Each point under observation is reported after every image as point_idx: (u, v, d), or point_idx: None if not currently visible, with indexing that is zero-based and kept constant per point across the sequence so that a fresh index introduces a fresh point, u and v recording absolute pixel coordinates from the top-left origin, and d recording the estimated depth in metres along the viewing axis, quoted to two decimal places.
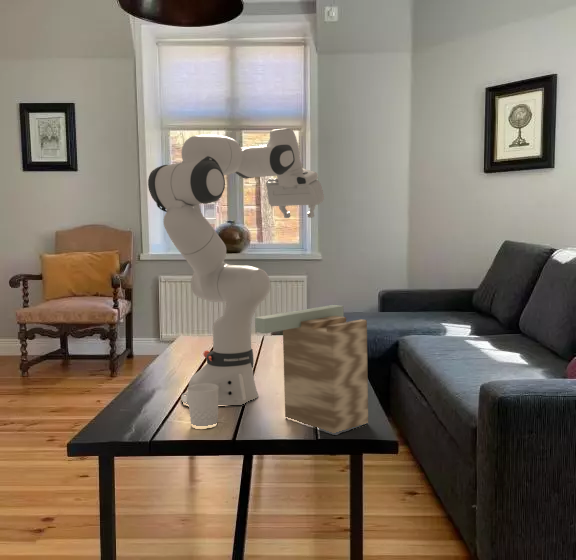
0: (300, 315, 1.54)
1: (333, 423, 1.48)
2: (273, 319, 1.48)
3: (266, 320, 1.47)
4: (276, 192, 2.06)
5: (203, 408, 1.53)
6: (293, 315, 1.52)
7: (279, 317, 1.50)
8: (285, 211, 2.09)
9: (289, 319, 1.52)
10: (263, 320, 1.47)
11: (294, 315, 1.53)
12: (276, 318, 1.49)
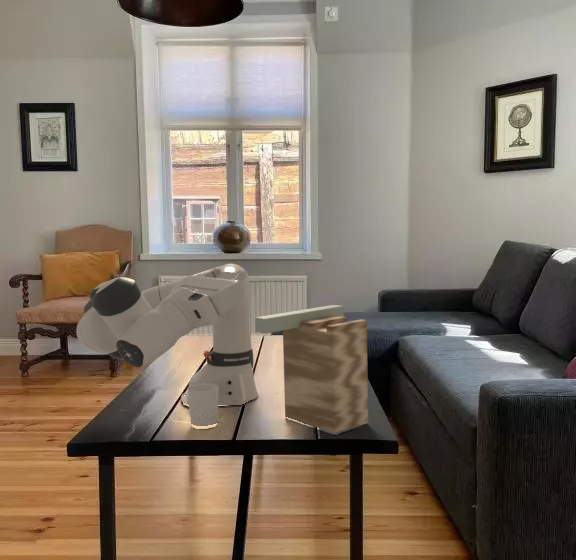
0: (300, 315, 1.54)
1: (333, 423, 1.48)
2: (273, 319, 1.48)
3: (266, 320, 1.47)
4: None
5: (203, 408, 1.53)
6: (293, 315, 1.52)
7: (279, 317, 1.50)
8: (211, 276, 1.41)
9: (289, 319, 1.52)
10: (263, 320, 1.47)
11: (294, 315, 1.53)
12: (276, 318, 1.49)
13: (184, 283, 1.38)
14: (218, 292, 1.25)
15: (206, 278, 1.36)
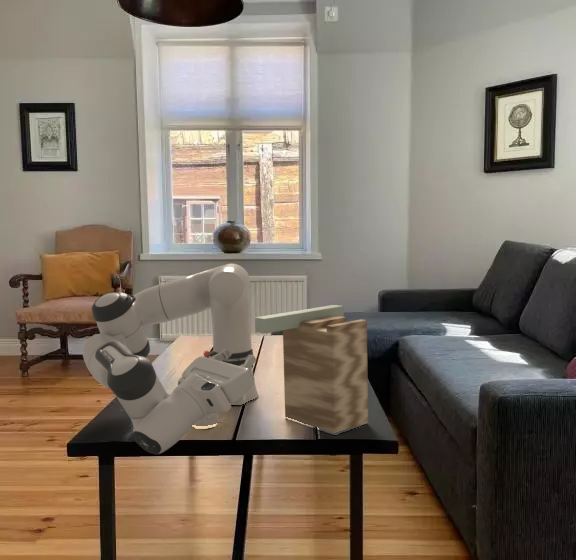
0: (300, 315, 1.54)
1: (333, 423, 1.48)
2: (273, 319, 1.48)
3: (266, 320, 1.47)
4: None
5: None
6: (293, 315, 1.52)
7: (279, 317, 1.50)
8: (221, 357, 1.47)
9: (289, 319, 1.52)
10: (263, 320, 1.47)
11: (294, 315, 1.53)
12: (276, 318, 1.49)
13: (196, 365, 1.45)
14: (229, 382, 1.31)
15: (217, 362, 1.42)
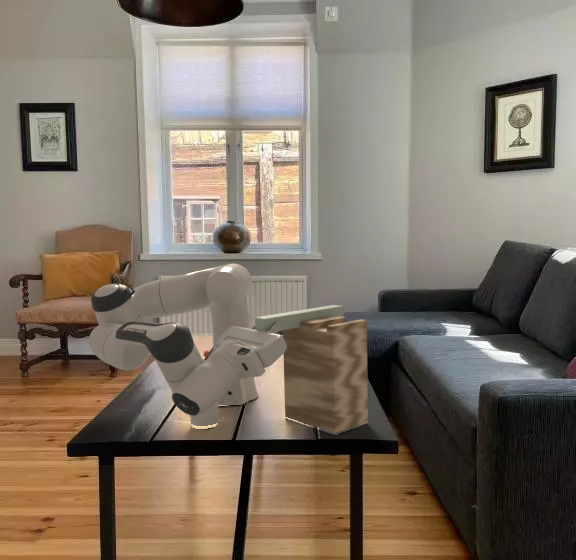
0: (300, 315, 1.54)
1: (333, 423, 1.48)
2: (273, 319, 1.48)
3: (266, 320, 1.47)
4: None
5: None
6: (293, 315, 1.52)
7: (279, 317, 1.50)
8: None
9: (289, 319, 1.52)
10: (263, 320, 1.47)
11: (294, 315, 1.53)
12: (276, 318, 1.49)
13: (229, 334, 1.51)
14: (264, 347, 1.37)
15: (250, 330, 1.48)
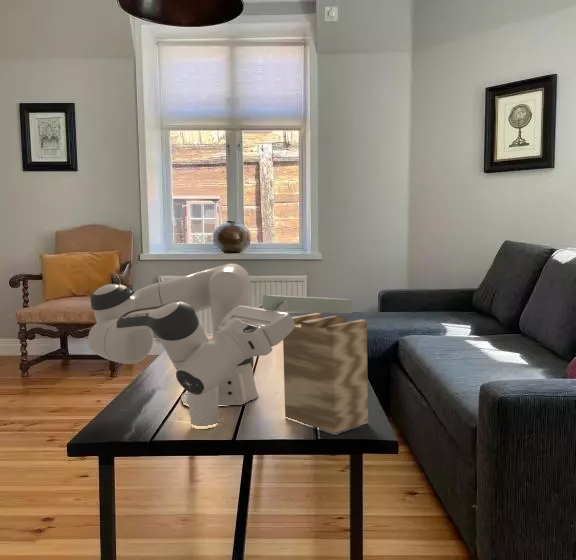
0: (308, 300, 1.50)
1: (333, 423, 1.48)
2: (281, 298, 1.45)
3: (274, 298, 1.43)
4: None
5: (203, 408, 1.53)
6: (302, 298, 1.49)
7: (287, 297, 1.46)
8: None
9: (297, 301, 1.48)
10: (271, 297, 1.43)
11: (303, 299, 1.49)
12: (284, 298, 1.45)
13: (235, 313, 1.47)
14: (271, 325, 1.33)
15: (256, 309, 1.44)
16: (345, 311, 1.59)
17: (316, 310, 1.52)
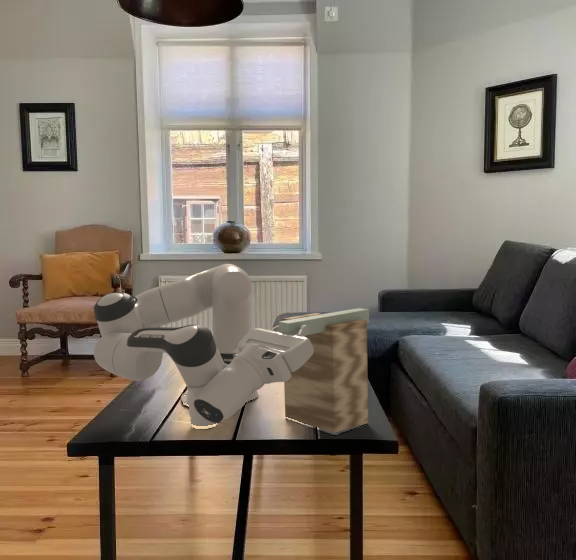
0: (325, 319, 1.47)
1: (333, 423, 1.48)
2: (298, 323, 1.41)
3: (290, 324, 1.40)
4: None
5: None
6: (318, 319, 1.46)
7: (304, 321, 1.43)
8: None
9: (314, 323, 1.45)
10: (287, 324, 1.40)
11: (319, 319, 1.46)
12: (301, 322, 1.42)
13: (251, 337, 1.44)
14: (290, 351, 1.31)
15: (274, 333, 1.41)
16: None
17: None
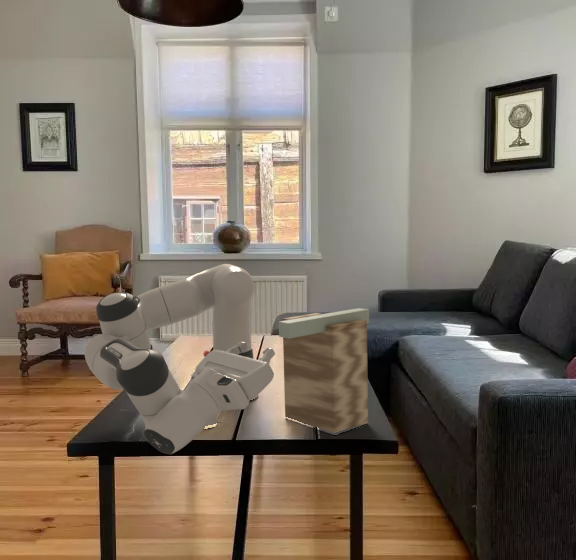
0: (325, 319, 1.47)
1: (333, 423, 1.48)
2: (298, 323, 1.41)
3: (290, 324, 1.40)
4: None
5: None
6: (318, 319, 1.46)
7: (304, 321, 1.43)
8: (237, 350, 1.38)
9: (314, 323, 1.45)
10: (287, 324, 1.40)
11: (319, 319, 1.46)
12: (301, 322, 1.42)
13: (210, 359, 1.36)
14: (247, 376, 1.23)
15: (233, 355, 1.33)
16: None
17: None
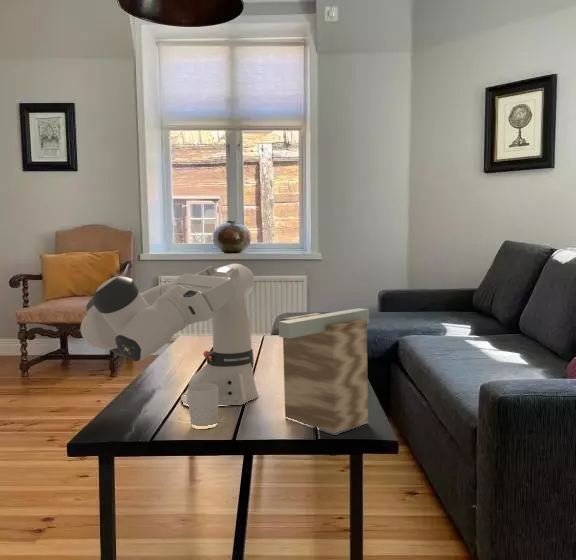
0: (325, 319, 1.47)
1: (333, 423, 1.48)
2: (298, 323, 1.41)
3: (290, 324, 1.40)
4: None
5: (203, 408, 1.53)
6: (318, 319, 1.46)
7: (304, 321, 1.43)
8: (206, 274, 1.47)
9: (314, 323, 1.45)
10: (287, 324, 1.40)
11: (319, 319, 1.46)
12: (301, 322, 1.42)
13: (180, 281, 1.45)
14: (211, 289, 1.32)
15: (200, 276, 1.42)
16: None
17: None
